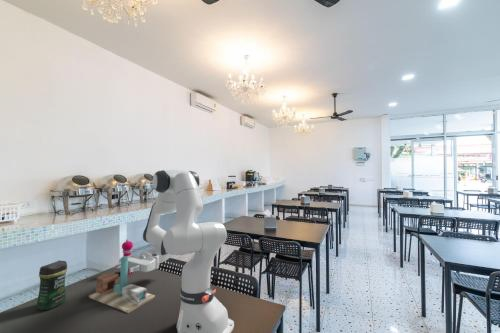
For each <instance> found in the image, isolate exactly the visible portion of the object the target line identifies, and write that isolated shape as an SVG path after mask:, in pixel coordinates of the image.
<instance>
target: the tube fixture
mask: <svg viewBox="0 0 500 333" xmlns="http://www.w3.org/2000/svg"><path fill="white" fill-rule="evenodd" d="M116 284H119V274H118V273H114V272H111V271H110V272H108V273H106V274H103V275H100V276H98V277H96V292H94V293H91V294H89V295H88V298H89V299H92V300H93V301H96V302H99V303H101V304H103V305H106V306H109V307H112V308H114V309H117V310H120V311H122V312H124V313H127V314H129V313H131V312H133V311H135V310H136V309H138V308H140V307H142V306H143V305H145V304H146V303H148V302H150V301H152V300H153V299H156V295H154V294H152V293H149V292H148V289H147V288H146V287H142V286H139V285H136V284H132V283H130V284H129V283H128V284H127V286H125V287H122V294H120V293H117V292H114V285H116ZM143 291H144V297H143V298H141V299H139V293H141V292H143Z"/></svg>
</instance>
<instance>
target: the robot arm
mask: <svg viewBox="0 0 500 333" xmlns="http://www.w3.org/2000/svg"><path fill="white" fill-rule="evenodd" d="M152 186H153V190H155V191H156V192H157V193H158V194H157V199H156V201H155V202H153V204H152V206H151V209H150V211H149V214H148V215H149V216H148V219H147V222H146V226H145V228H144V230H143V232H142V239H143V241H145V242H146V243H147V244H150V245H152V246H153V248H151V249H148V250H145V251H141V252H140V254H139V256H138V255H134V254H131V255H129V256H127V257H128V268H129V269H128V272H132V273H133V272H142V273H148V272H151V271H154V270H158V269H159V268H160V264H162V263H163V262H166V261H167V260H169V259H170V258H172V257H173V256H184V255H188V254H193V256H192V257H191V258H190V259H189V260H188V261H187V262H185V264H184V265H183V267H182V271H181V287H180V294H179V296H180V298H179V299H180V308H179V313H178V314H179V315H178V319H177V323H176V325H175V326H176V327H175V328H176V330H177V333H232V332H233V331H234V328H235V321H234V320H232V319H231V318H229V315H228V310H227V308H226V307H225V305H223V304H222V303H221V302H220V300H218V298H217V297H216V296H215V293H217V291H216V290H217V289H216V288H215V289H214V290H213V286H212V285H211V275H212V274H211V271H212V265H213V263H214V259H215V256H216V255H217V253H218V251H219V250H220V248H221V247H222V246H223V245H224V244H225V243H226V240H227V237H228V233H227V229H226V227H225V225H224V224H223V223H221V222H219V221H218V222H217V221H207V222H198V223H196V222H195V218H196V217H198V216H200V214H202V212H203V209H204V203H203V199H202V196H201V195H202V194H201V191H200V188H199V187H200V177H199V174H198V172H196V171H192V170H178V169H168V170H164V169H163V170H158V171H156V172H155V173H154V174H153V178H152ZM175 211H176V216H175V220H174V222H173V224H172V225H171V226H170V227H169V229H167V230H165V229H163V228H161V227H160V225H159V223H160V219H161V216H162V215H167V214H171V213H174V212H175ZM114 268H115V269H121V257H120V258H119V259H118V263H117V264H115V266H114Z"/></svg>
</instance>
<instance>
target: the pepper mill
mask: <svg viewBox="0 0 500 333" xmlns="http://www.w3.org/2000/svg"><path fill="white" fill-rule="evenodd" d="M121 244H122V245H121V249H122V254H123V255H122V257H124V256H129V255H132V252H133V251H132V250H133V249H132V248H133V246H134V243H133V242H132V241H130V239H129V238H127V239H126V240H125V241H124V242H123V243H121ZM128 269H129V268H128ZM130 274H132V273H131V272H128V275H130Z"/></svg>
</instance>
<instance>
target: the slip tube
mask: <svg viewBox="0 0 500 333" xmlns="http://www.w3.org/2000/svg"><path fill="white" fill-rule="evenodd" d="M120 258H121V268H120V280H119V281H120V282H118V284H116V285H114V292H117V293H120V294H122V287H125V286H127V285H128V276H129V274H128V257H127V256H124V257H123V256H121V257H120ZM143 297H144V291H143V292H141V293H139V299H141V298H143Z"/></svg>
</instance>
